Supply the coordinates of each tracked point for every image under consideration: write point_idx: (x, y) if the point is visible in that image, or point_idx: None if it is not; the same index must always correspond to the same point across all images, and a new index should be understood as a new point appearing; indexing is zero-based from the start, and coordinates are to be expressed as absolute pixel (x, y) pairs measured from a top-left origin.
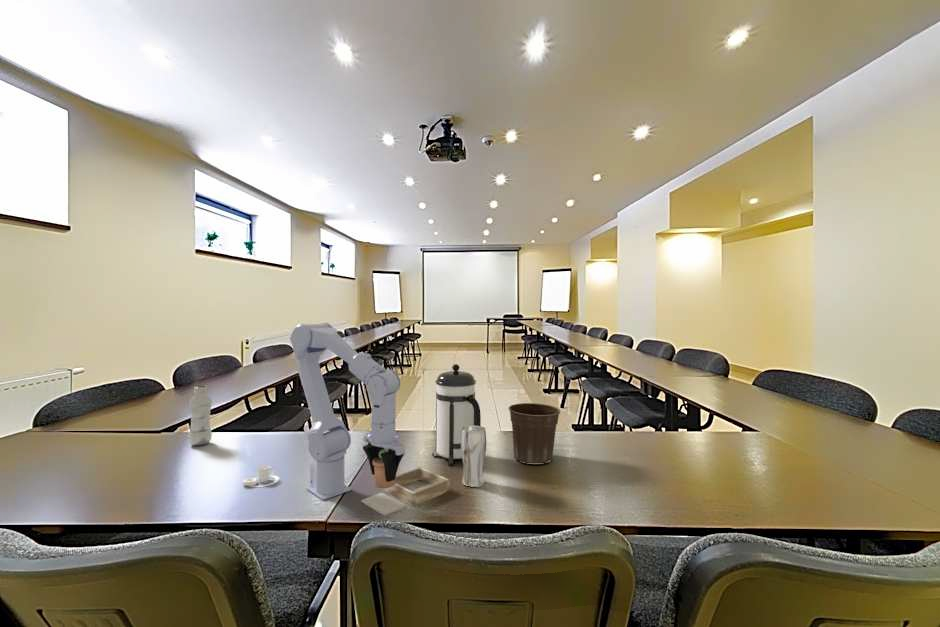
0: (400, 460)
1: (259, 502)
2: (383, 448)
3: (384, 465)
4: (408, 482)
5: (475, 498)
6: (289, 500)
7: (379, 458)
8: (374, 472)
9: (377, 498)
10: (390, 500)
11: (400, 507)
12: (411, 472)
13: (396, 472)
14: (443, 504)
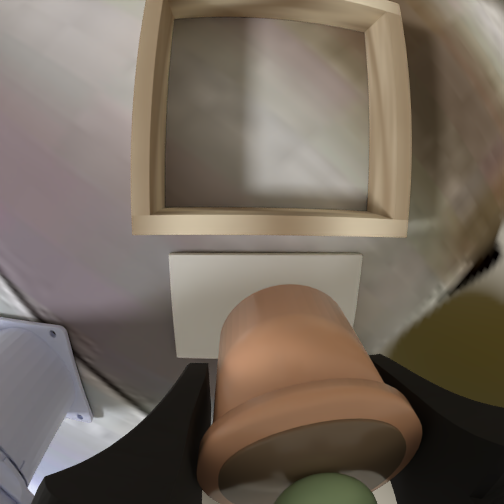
0: (490, 409)
1: (44, 471)
2: (177, 498)
3: (397, 486)
4: (167, 81)
5: (466, 37)
6: (55, 448)
7: (264, 493)
8: (209, 411)
9: (212, 305)
10: (274, 275)
11: (358, 280)
12: (158, 44)
13: (410, 371)
14: (442, 131)
